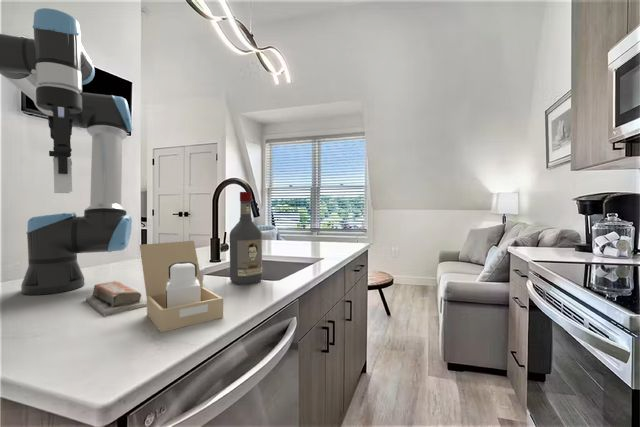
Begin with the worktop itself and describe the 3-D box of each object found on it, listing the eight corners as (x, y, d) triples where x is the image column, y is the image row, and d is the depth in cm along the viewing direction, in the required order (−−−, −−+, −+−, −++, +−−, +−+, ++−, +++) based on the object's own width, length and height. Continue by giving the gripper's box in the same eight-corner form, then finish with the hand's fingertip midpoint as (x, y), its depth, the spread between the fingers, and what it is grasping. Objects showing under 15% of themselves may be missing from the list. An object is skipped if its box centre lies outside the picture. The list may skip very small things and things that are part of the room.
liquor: (227, 281, 109) (226, 192, 108) (251, 276, 116) (250, 192, 114) (240, 286, 103) (239, 191, 102) (265, 281, 109) (264, 192, 108)
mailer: (141, 307, 82) (139, 244, 81) (194, 297, 90) (193, 240, 90) (161, 332, 66) (159, 254, 66) (223, 317, 75) (222, 248, 74)
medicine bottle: (167, 311, 77) (166, 261, 77) (198, 307, 80) (198, 259, 80) (166, 321, 71) (165, 267, 71) (201, 316, 74) (200, 264, 73)
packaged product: (84, 284, 88) (125, 278, 95) (84, 302, 88) (125, 294, 96) (104, 297, 76) (149, 288, 83) (104, 317, 76) (149, 307, 84)
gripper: (38, 101, 75) (41, 193, 76) (32, 66, 56) (36, 190, 56) (78, 107, 80) (80, 193, 80) (86, 77, 60) (89, 191, 61)
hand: (62, 192), depth 68 cm, fingers open, 13 cm apart
